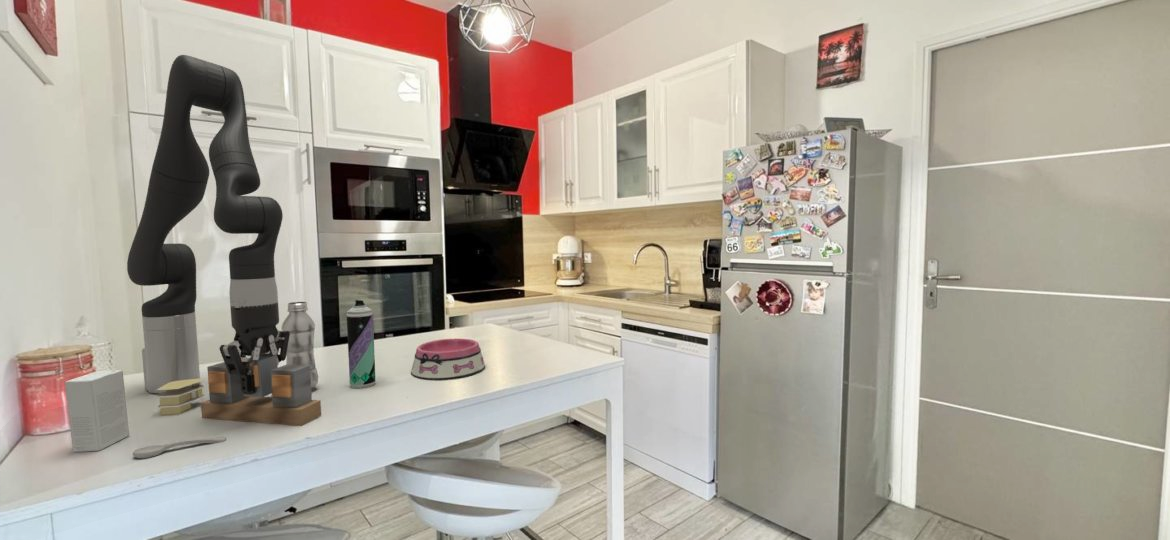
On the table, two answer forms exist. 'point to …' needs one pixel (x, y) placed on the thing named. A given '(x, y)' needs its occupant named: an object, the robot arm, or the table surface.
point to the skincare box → (97, 410)
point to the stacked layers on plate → (179, 396)
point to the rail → (282, 408)
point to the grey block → (263, 375)
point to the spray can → (361, 345)
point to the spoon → (158, 449)
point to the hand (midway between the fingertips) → (260, 389)
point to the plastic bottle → (300, 338)
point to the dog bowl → (447, 359)
